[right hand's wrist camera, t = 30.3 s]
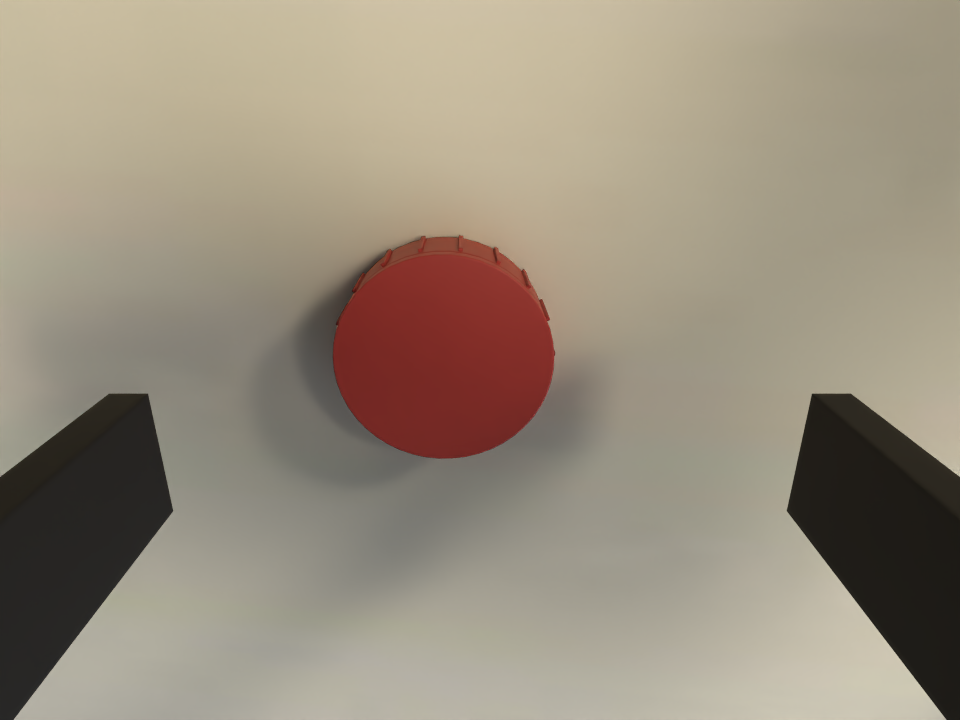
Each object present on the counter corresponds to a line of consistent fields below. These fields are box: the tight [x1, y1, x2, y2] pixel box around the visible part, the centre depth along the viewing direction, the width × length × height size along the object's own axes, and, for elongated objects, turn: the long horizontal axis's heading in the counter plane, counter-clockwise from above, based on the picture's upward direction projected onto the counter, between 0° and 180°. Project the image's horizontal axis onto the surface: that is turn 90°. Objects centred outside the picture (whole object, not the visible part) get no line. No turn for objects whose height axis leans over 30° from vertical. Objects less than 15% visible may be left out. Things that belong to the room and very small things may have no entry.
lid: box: [333, 235, 555, 458], centre depth 17 cm, size 6×6×2 cm
